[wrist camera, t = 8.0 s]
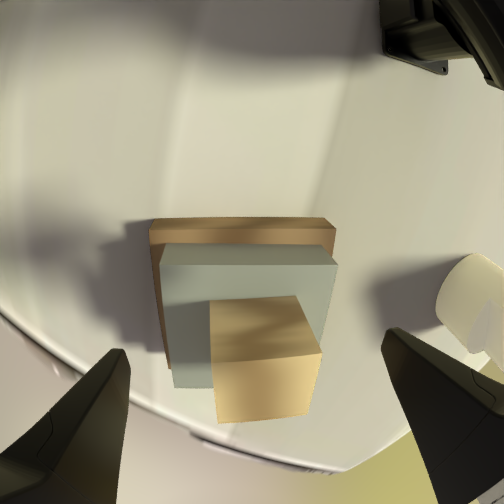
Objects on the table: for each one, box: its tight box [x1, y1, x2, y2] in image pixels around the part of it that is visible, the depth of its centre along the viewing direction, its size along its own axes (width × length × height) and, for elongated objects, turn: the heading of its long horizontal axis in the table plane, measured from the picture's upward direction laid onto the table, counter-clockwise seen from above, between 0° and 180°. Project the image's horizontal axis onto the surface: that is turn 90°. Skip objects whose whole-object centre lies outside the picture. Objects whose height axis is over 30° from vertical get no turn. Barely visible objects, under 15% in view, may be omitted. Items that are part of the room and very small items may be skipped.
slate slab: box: [159, 243, 338, 388], centre depth 20 cm, size 10×10×3 cm
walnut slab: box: [149, 217, 336, 369], centre depth 22 cm, size 12×12×3 cm
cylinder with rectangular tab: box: [435, 253, 504, 373], centre depth 22 cm, size 9×9×12 cm
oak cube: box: [210, 296, 322, 424], centre depth 16 cm, size 5×5×5 cm
